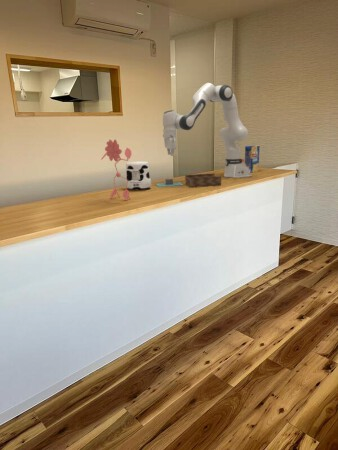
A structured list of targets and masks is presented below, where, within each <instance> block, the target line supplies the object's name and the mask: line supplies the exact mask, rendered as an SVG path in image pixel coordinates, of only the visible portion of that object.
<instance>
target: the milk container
mask: <svg viewBox="0 0 338 450" xmlns="http://www.w3.org/2000/svg"><path fill="white" fill-rule="evenodd" d="M125 165H126V166H125V168H126V169H125V172H126V179H128V182H127V180H126V179H125V186H126V185H127V190H131V191H141V190H147V189H150V188H151V186H152V179H151V175H150V164H149V161H145V160H144V161H138V160H137V161H127V162H125Z"/></svg>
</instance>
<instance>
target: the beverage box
mask: <svg viewBox="0 0 338 450" xmlns="http://www.w3.org/2000/svg"><path fill="white" fill-rule="evenodd" d="M244 150H245V151H244V165H245V166H246V167H247V168H248V169H249V174H252V173H258V172H259V166H260V165H259V164H260V163H259V162H260V145H246V146H244Z"/></svg>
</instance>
